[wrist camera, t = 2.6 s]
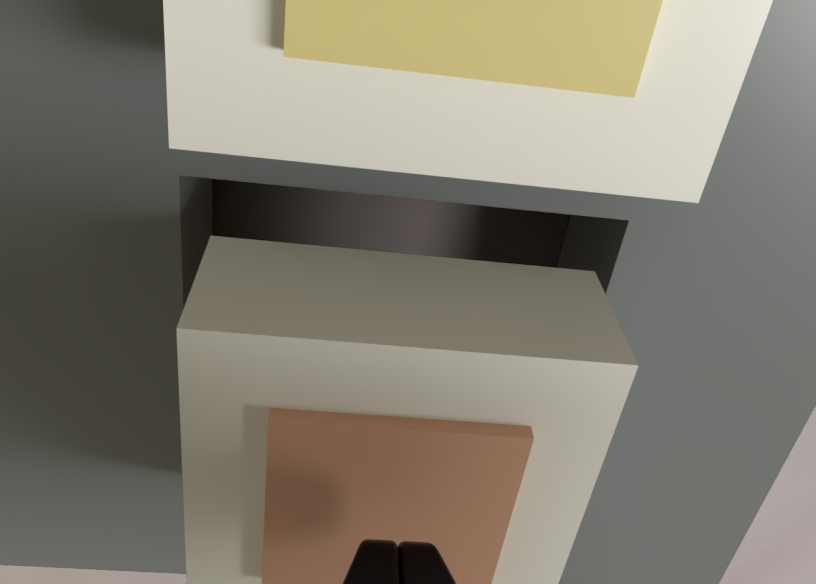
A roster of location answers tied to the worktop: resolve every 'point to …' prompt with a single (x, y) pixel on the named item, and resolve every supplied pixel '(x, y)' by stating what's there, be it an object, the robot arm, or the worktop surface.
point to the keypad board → (193, 200)
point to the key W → (466, 86)
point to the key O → (390, 411)
